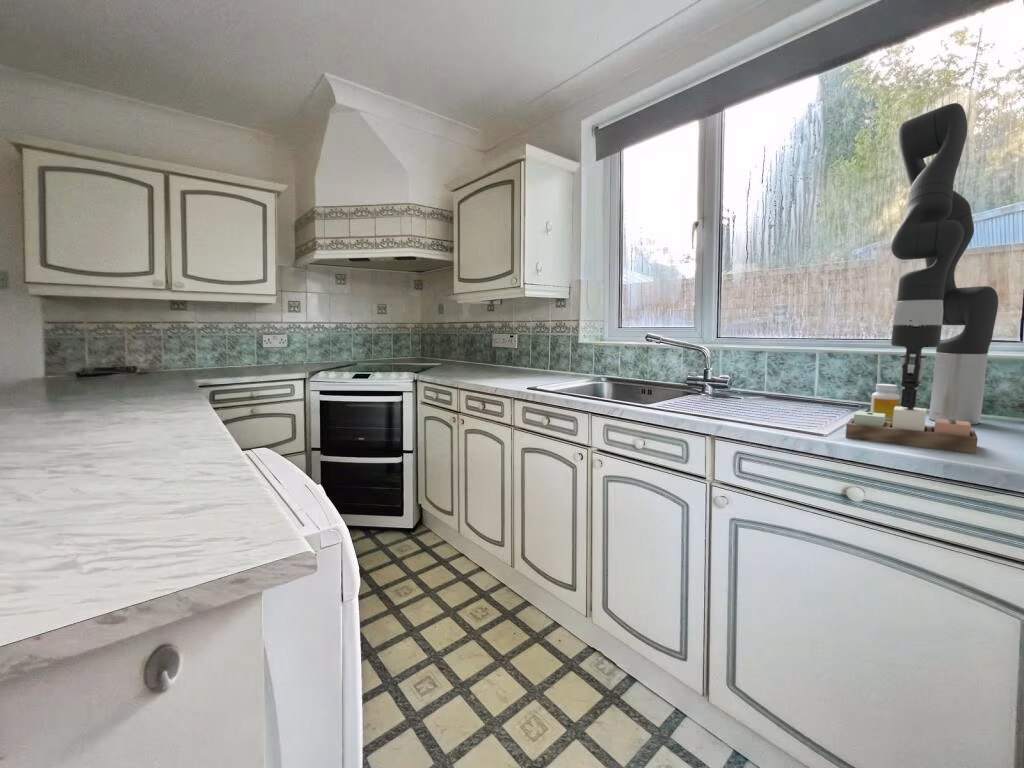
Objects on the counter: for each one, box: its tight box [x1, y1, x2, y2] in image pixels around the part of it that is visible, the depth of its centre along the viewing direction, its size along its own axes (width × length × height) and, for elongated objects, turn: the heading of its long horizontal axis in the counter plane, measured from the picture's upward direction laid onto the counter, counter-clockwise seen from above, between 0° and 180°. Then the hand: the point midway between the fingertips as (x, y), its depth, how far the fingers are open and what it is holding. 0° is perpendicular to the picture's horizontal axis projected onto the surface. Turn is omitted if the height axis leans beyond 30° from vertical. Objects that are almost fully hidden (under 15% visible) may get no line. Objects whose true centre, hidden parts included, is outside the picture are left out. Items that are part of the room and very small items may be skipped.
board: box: [845, 417, 979, 455], centre depth 96 cm, size 20×9×3 cm, turn 48°
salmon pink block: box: [933, 419, 972, 436], centre depth 91 cm, size 5×5×4 cm
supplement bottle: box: [869, 383, 900, 422], centre depth 113 cm, size 5×5×10 cm
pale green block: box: [853, 410, 885, 427], centre depth 100 cm, size 5×5×4 cm
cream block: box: [892, 406, 927, 431], centre depth 95 cm, size 5×5×4 cm
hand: (907, 407), depth 95 cm, fingers closed
